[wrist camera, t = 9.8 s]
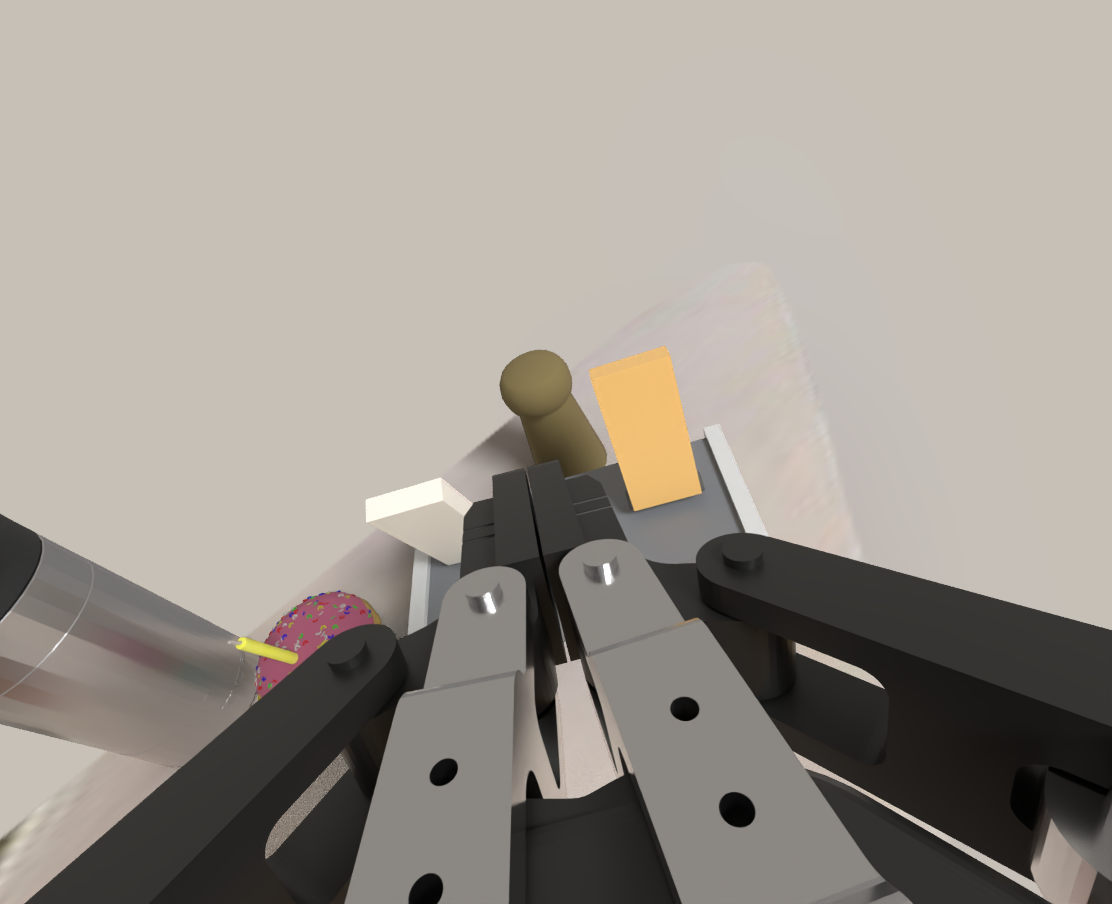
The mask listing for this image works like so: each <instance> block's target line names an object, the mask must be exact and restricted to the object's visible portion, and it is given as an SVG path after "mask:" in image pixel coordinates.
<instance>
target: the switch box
mask: <svg viewBox="0 0 1112 904" xmlns="http://www.w3.org/2000/svg"><path fill="white" fill-rule="evenodd" d="M703 430H704V436H705V438H704V439H700V440H697V441H693V442H690V444H691V448H692V452H693V456H694V461H695V465H696V469H697V471H699V472H700V475H701V477H702V480H703V484H704V488H705V491H702V493H701V494H697V495H694V496H690V497H686V498H682V499H679V500H675V501H671V502H668V503H664V504H660V505H656V506H653V507H649V508H645V509H641V510H638V511H634V510H630V508H629V505H628V501H627V498H626V493H625V491H627V488H626V485H625V482H624V478H623V475H622V472H621V469H620V466H619V463H616V464H612V465H609V466H605V467H602V468H598V469H595V470H591V471H588V472H584V473H581V474H577V475H573V476H570V477H566V478H565V480H567V479H571V478H575V477H579V476H583V475H588V476H590V477H592V478H593V479H595V480H597V481H599V482H600V483H601V484H602V486H603V489H604V491H605V493H606V496H607V497H608V499H609V502H610V504H611V507H612V508H613V510H614V512H615V515H616V517H617V519H618V521H619V523H620V525H621V528H622V530H623V532H624V534H625V536H626V538H627V541H628V542H629V543H631V544H633V545H634V546H635V547H637V548H638V549H639V550H640V552H641V553H642V555H643V556H644V558H645V559H648V560H651V561H654V562H659V563H667V564H684V563H696V555H697V553H698V551H699V549H700V548H701V547H702V546H703V545H704V544H705V543H707V542H708V541H710V540H712V539H714V538H716V537H719V536H722V535H726V534H732V533H754V534H760V535H764V536H768V534H767V531H766V529H765V527H764V525H763V522H762V520H761V518H760V516H759V513H758V511H757V509H756V507H755V504H754V502H753V500H752V497H751V495H750V493H749V491H748V488H747V486H746V484H745V482H744V479H743V477H742V475H741V473H740V470H739V468H738V466H737V464H736V461H735V459H734V457H733V454H732V452H731V450H730V448H729V445H728V443H727V441H726V439H725V436H724V434H723V432H722V430H721V427H720V425H719V424H716V425H712V426H709V427H705V428H703ZM530 490H531V488H530ZM531 494H532V492H531ZM532 498H533V497H532ZM768 537H769V536H768ZM460 566H461V562H460V563H456V564H453V565H447V564H446V565H442V564H441V562H440V561H439V560H437V559H435V558H433V557H431V556H429V555H427V554H426V553H424V552H422V551H420V550H418V549H416V548H415V553H414V565H413V577H412V588H411V600H410V612H409V624H408V635H409V634H411V633H413V632H416V631H418V630H420V629H422V628H424V627H425V626H427V625H429V624H431V623H432V622H434V621H435V620H437V619H438V618H439V615H440V611H441V606H442V602H443V599H444V596H445V594H446V593H447V591H448V590H449V589H450V587H451V586H452V585H453V584H455V583H456V582H457V581H458V580H460ZM557 612H558V610H557ZM558 617H559V614H558ZM559 622H560V627H561V632H562V637H563V642H564V641H566V640H565V637H564V633H563V629H562V625H561V621H560V618H559Z"/></svg>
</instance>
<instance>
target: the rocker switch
mask: <svg viewBox="0 0 1112 904" xmlns="http://www.w3.org/2000/svg"><path fill="white" fill-rule="evenodd" d="M472 505H473V504H472V503H471V502H470V501H469V500H468V499H466V498H465V497H464V496H463V495H461V494H460V493H459V492H458V491H457V490H455V489H454V488H453V487H452V486H451V485H449V484H448V483H447V482H446V481H444V480H443V479H442V478H438V479H434V480H431V481H428V482H424V483H421V484H418V485H414V486H411V487H407V488H404V489H401V490H397V491H394V492H390V493H387V494H383V495H380V496H377V497H373V498H370V499H367V500H366V523H368V524H370V525H372V526H374V527H376V528H377V529H379V530H381V531H383V532H385V533H387V534H389V535H391V536H393V537H395V538H397V539H399V540H401V541H402V542H404V543H406V544H408V545H410V546H412V547H414V548H416V549H418V550H420V551H422V552H424V553H426V554H427V555H429V556H431V557H433V558H435V559H437V560H439V561H440V562H441V564H442V565H446V564H447V565H453V564H456V563H460V562H461V551H462V545H463V543H462V536H463V521H464V516H465V514H466V513H467V512H468V510H469V509H470V507H471V506H472Z"/></svg>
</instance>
